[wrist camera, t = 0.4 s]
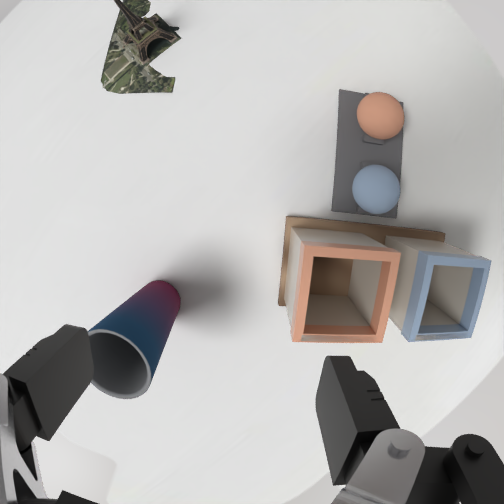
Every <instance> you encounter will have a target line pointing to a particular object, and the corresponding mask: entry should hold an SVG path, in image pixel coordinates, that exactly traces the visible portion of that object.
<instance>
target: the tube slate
mask: <svg viewBox="0 0 504 504" xmlns="http://www.w3.org/2000/svg"><path fill="white" fill-rule="evenodd" d="M385 246H386V247H388V248H393V249H395V250H397V251H399V252H400V253H401V256H400V262H399V268H398V273H397V279H396V284H395V289H394V294H393V299H392V303H391V308H390V312H389V318H390V319H391V320H392V321H393V323H394V324H395V325H396V326H397V327H398V328H399V329H400V330H401V334H402V335H403V336H404V337H405V338H406V340H407V341H408V342H415V341H434V340H449V339H462V338H471V336H472V333H473V330H474V327H475V324H476V321H477V317H478V314H479V310H480V307H481V303H482V299H483V295H484V292H485V287H486V283H487V279H488V274H489V270H490V265H491V260H489V259H486V258H484V257H481V256H476V255H474V254H471V253H469V252H467V251H464V250H462V249H459V248H457V247H454V246H452V245H449V244H447V243H444V242H442V241H434V240H425V239H416V238H406V237H397V236H387V235H386V238H385Z"/></svg>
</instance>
